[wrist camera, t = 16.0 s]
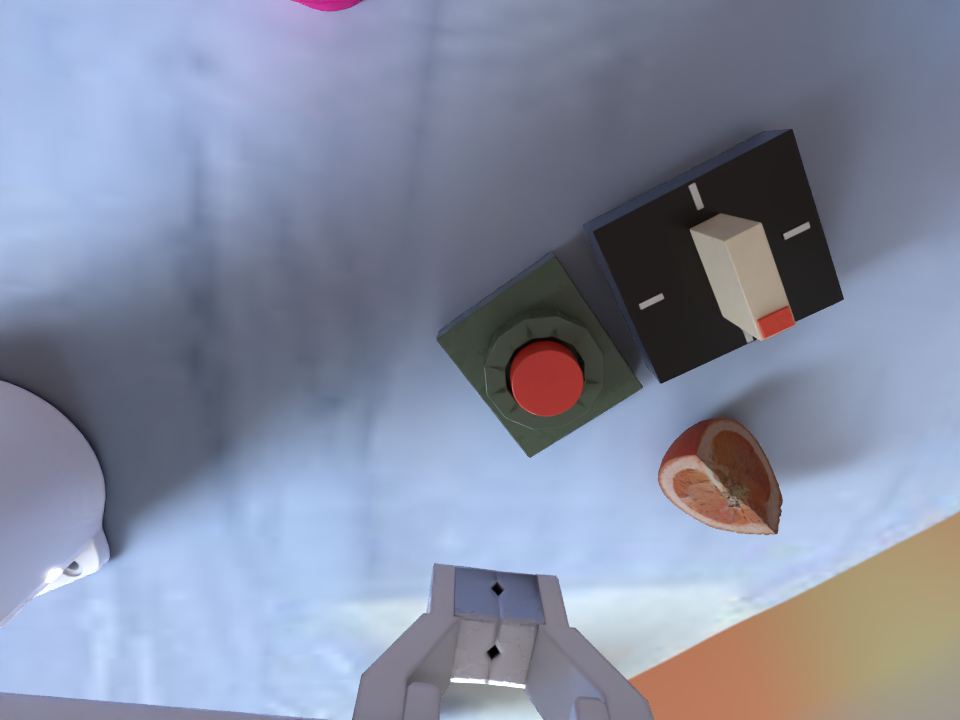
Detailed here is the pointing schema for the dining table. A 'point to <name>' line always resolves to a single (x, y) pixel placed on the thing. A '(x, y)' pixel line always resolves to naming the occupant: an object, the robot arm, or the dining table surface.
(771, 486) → the fruit slice
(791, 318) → the knob
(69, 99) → the dining table surface
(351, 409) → the dining table surface
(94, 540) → the robot arm
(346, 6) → the pepper mill
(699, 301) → the control panel
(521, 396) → the button
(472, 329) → the button box
